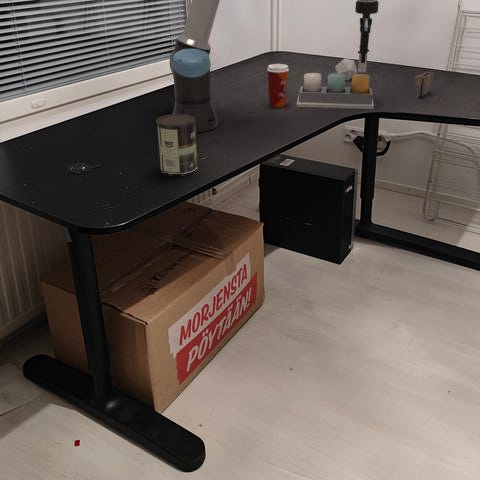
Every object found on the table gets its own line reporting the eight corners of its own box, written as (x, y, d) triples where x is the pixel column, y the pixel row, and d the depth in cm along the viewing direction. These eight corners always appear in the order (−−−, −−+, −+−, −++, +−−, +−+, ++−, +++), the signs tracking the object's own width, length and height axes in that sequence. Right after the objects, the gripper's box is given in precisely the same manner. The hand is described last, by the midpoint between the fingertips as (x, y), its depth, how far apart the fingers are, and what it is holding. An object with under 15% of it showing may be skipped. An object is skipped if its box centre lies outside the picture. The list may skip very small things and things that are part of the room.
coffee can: (197, 161, 172) (195, 112, 165) (198, 175, 163) (195, 124, 156) (160, 162, 171) (157, 114, 164) (159, 176, 162) (155, 126, 155)
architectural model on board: (419, 100, 223) (423, 73, 218) (412, 99, 224) (415, 72, 220) (431, 93, 231) (435, 67, 226) (424, 92, 232) (427, 66, 227)
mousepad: (102, 165, 171) (101, 162, 171) (97, 175, 165) (97, 173, 164) (69, 165, 171) (68, 163, 171) (63, 176, 164) (62, 174, 164)
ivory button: (303, 93, 217) (303, 76, 214) (304, 89, 222) (304, 72, 219) (320, 94, 216) (320, 77, 213) (320, 89, 221) (321, 73, 218)
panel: (296, 106, 216) (297, 94, 214) (298, 96, 227) (299, 84, 225) (373, 109, 212) (374, 96, 210) (372, 98, 224) (373, 86, 221)
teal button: (327, 94, 216) (328, 77, 213) (327, 89, 221) (328, 73, 218) (344, 94, 215) (345, 77, 212) (344, 90, 220) (345, 73, 217)
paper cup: (286, 108, 214) (287, 68, 207) (265, 107, 215) (265, 68, 208) (289, 102, 221) (290, 63, 214) (268, 101, 222) (268, 62, 215)
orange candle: (351, 94, 215) (352, 78, 212) (350, 90, 220) (352, 73, 217) (368, 95, 214) (369, 78, 211) (367, 90, 219) (369, 74, 216)
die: (360, 81, 248) (357, 58, 250) (354, 74, 241) (350, 51, 242) (341, 86, 252) (338, 64, 253) (334, 80, 244) (331, 58, 246)
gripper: (379, 3, 196) (373, 76, 207) (377, -3, 207) (372, 67, 218) (356, 3, 197) (351, 76, 208) (355, -3, 208) (350, 67, 219)
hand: (361, 71), depth 213 cm, fingers closed
